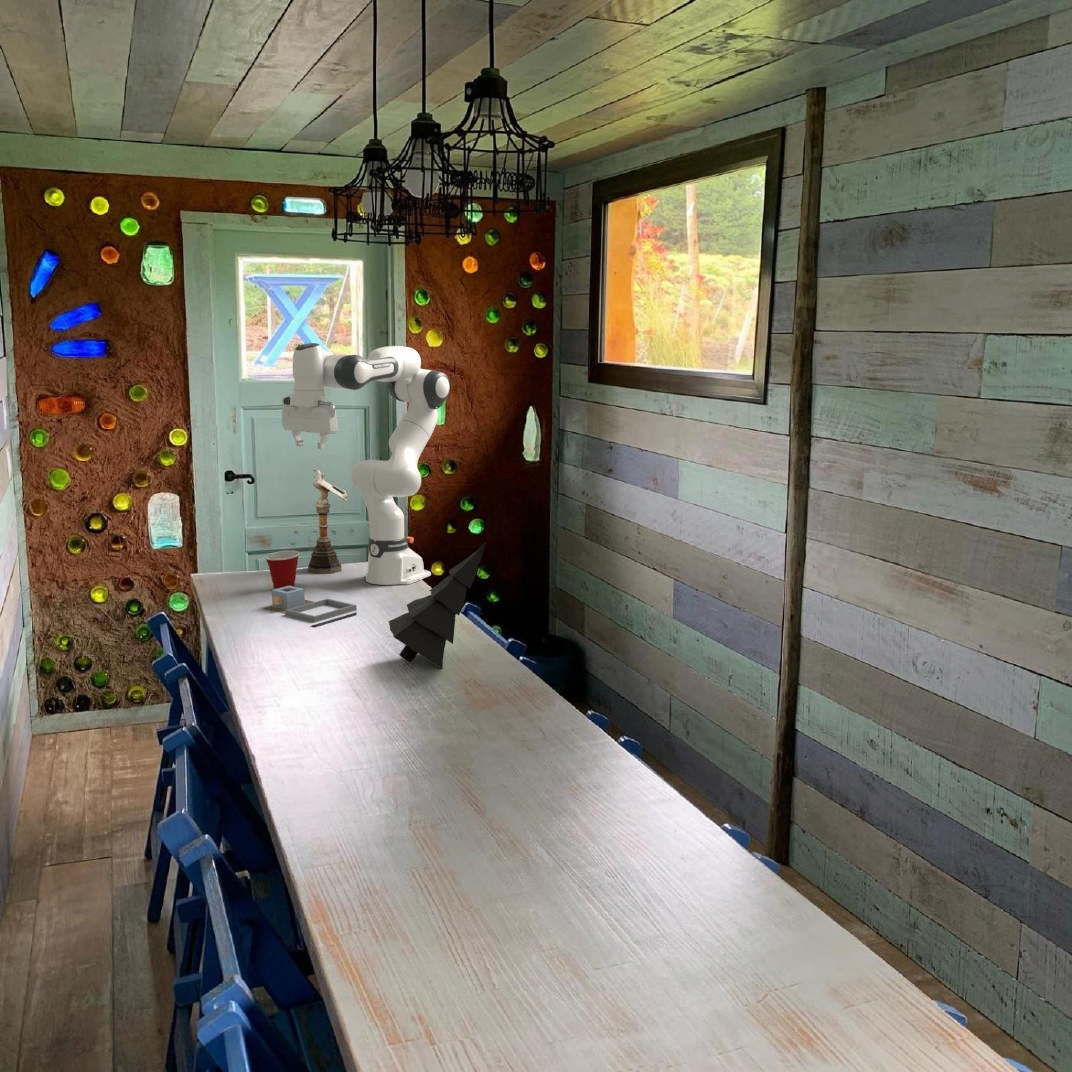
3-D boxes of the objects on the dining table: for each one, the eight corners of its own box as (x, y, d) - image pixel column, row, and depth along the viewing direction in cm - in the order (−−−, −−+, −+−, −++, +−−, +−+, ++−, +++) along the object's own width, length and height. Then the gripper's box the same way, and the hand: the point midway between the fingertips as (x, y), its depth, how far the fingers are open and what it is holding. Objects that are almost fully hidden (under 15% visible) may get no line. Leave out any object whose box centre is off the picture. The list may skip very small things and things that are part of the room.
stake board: (299, 603, 323) (298, 582, 321) (322, 608, 317) (321, 587, 316) (262, 613, 312) (261, 591, 310) (285, 618, 306) (284, 596, 305)
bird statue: (356, 564, 374) (353, 463, 367) (357, 572, 362) (354, 468, 355) (307, 565, 371) (303, 464, 364) (306, 574, 359) (303, 469, 352)
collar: (289, 602, 318) (289, 585, 317) (304, 605, 314) (304, 589, 313) (268, 607, 312) (267, 591, 311) (283, 611, 308) (282, 594, 307)
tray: (327, 608, 317) (327, 598, 317) (356, 615, 310) (356, 605, 310) (285, 620, 304) (285, 610, 304) (314, 627, 298) (314, 617, 297)
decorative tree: (433, 682, 263) (515, 565, 262) (383, 651, 259) (466, 532, 258) (426, 664, 278) (504, 552, 276) (378, 634, 273) (457, 521, 272)
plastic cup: (263, 588, 340) (262, 551, 338) (298, 585, 344) (297, 548, 341) (267, 596, 330) (265, 558, 328) (303, 593, 334) (302, 555, 331)
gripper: (342, 401, 311) (343, 449, 314) (293, 397, 323) (295, 443, 325) (326, 402, 306) (327, 451, 309) (277, 398, 318) (279, 445, 320)
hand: (310, 447), depth 317 cm, fingers open, 8 cm apart
